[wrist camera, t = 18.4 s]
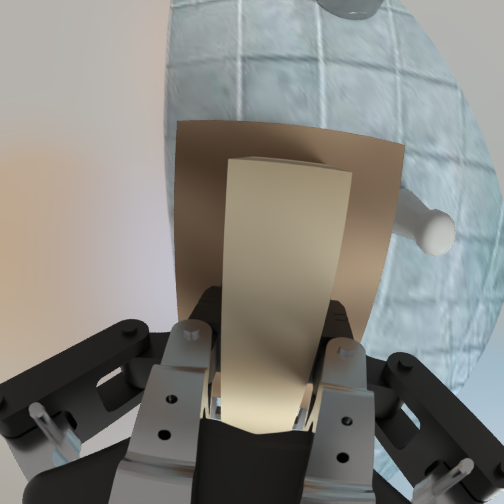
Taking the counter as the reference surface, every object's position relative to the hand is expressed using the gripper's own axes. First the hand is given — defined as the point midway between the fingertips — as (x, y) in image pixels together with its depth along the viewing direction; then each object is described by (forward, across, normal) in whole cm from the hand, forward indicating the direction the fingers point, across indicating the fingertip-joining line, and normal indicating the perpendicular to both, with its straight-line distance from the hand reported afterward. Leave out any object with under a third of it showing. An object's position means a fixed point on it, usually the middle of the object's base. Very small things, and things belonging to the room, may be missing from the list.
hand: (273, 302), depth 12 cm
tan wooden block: (+6, 0, +5) cm, 8 cm away
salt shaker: (+24, -14, -1) cm, 28 cm away
